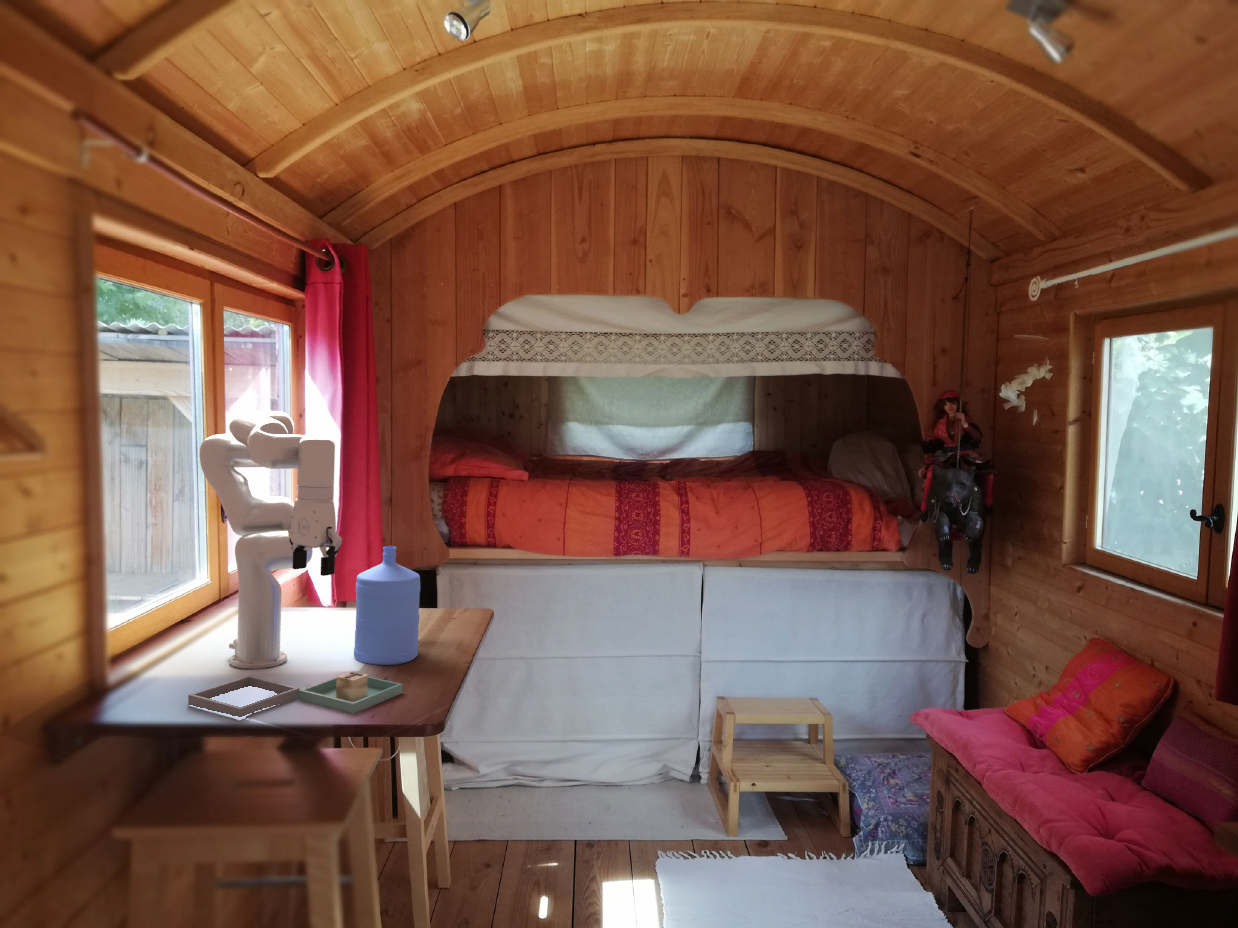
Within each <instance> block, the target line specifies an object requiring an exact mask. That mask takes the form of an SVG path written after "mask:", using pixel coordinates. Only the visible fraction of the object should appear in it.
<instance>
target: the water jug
mask: <svg viewBox="0 0 1238 928" xmlns="http://www.w3.org/2000/svg"><path fill="white" fill-rule="evenodd" d="M382 549H383V553H382V562H381V563H380V564H377V565H375V566H372V567H370V568H369V569H367V570H365V571H362V572H360V573H359V574H358V575H357V576H356V582H355V594H356V595H355V596H356V597H355V603H356V608H355V609H356V610H355V611H356V612H355V613H356V614H355V631H354V648H353V657H354V659H355V660H357V661H358V662H360V663H363V664H368V665H375V666H395V665H401V664H402V665H403V664H405V663H408V662H411V661H414V659H417V656H418V654H419V644H418V643H419V624H420V593H421V576H420V574H419V573H417V572H416V571H413V570H411V569H410V568H407V567H405V566H402V565H400V564H399V563H397V562H396V561H397V560H396V556H397V553H396V551H397V546H394V545H386V546H383V547H382Z"/></svg>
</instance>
